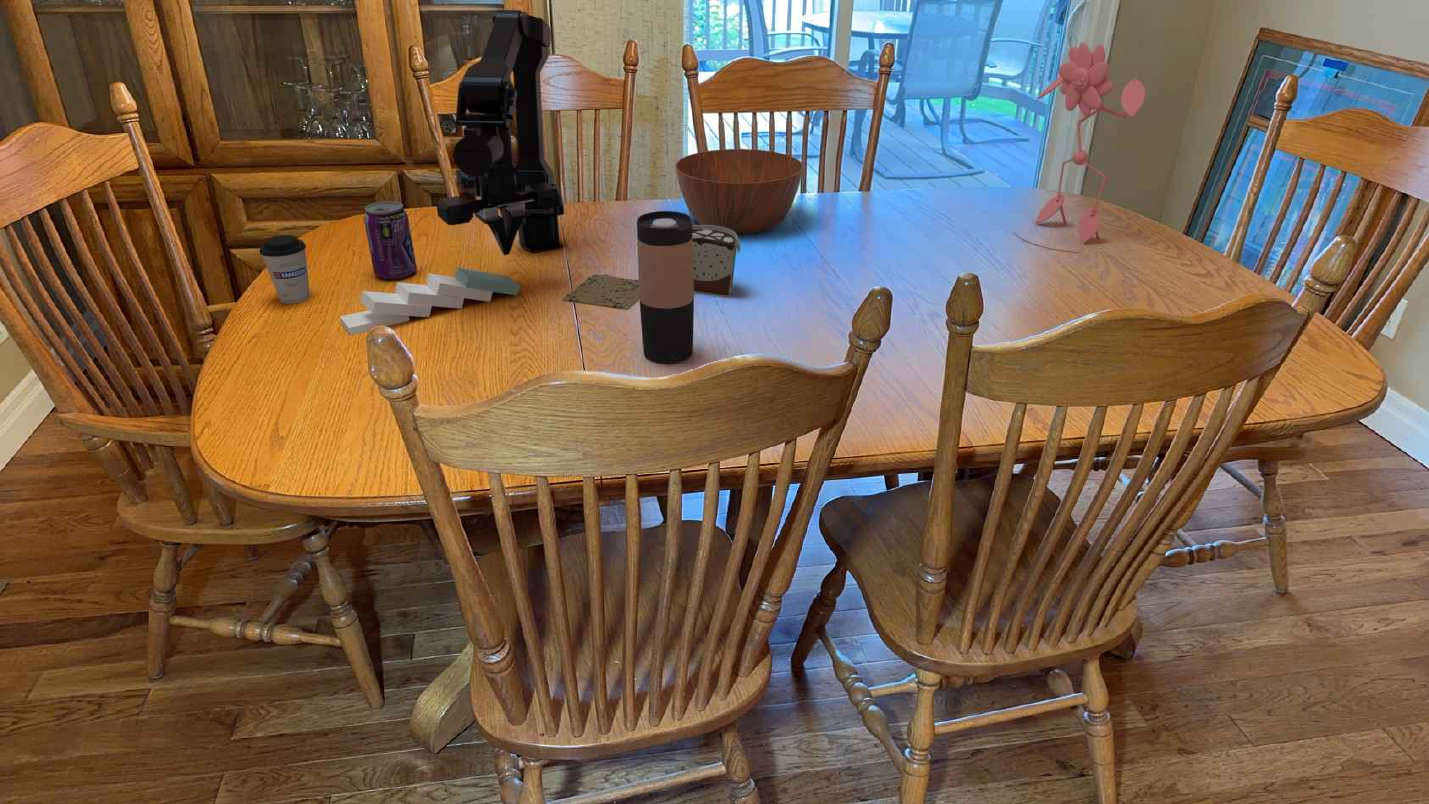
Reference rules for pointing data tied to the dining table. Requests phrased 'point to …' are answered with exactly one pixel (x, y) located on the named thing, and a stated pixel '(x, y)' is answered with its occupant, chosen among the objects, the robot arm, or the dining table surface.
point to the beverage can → (389, 240)
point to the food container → (714, 259)
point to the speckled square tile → (606, 292)
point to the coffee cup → (287, 267)
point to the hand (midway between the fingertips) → (506, 254)
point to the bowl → (739, 187)
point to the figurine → (1085, 88)
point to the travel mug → (666, 285)
